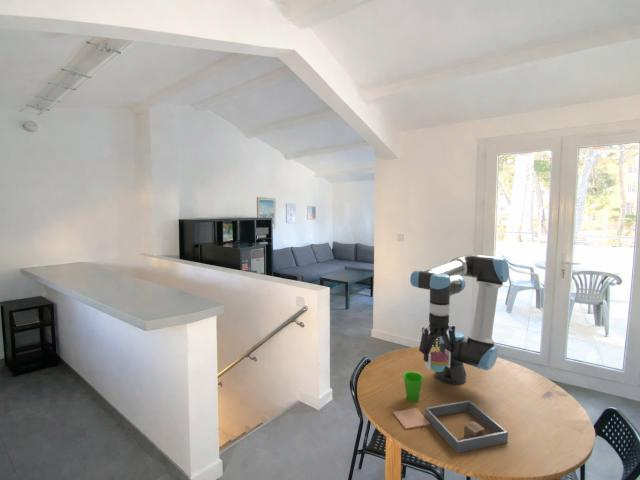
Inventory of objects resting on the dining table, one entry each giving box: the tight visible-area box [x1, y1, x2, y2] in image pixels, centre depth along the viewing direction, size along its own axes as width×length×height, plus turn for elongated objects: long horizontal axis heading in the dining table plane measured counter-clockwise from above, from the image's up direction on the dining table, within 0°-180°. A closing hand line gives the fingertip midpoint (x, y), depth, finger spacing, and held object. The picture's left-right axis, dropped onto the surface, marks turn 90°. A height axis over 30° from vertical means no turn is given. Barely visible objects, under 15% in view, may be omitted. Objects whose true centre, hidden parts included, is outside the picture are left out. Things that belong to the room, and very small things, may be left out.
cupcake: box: [429, 338, 449, 373], centre depth 137 cm, size 9×8×12 cm
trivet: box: [392, 407, 431, 430], centre depth 142 cm, size 11×11×1 cm
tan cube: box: [463, 420, 486, 439], centre depth 130 cm, size 5×5×5 cm
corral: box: [424, 400, 509, 454], centre depth 135 cm, size 22×22×4 cm
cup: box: [402, 371, 424, 403], centre depth 156 cm, size 9×9×11 cm
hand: (437, 367), depth 138 cm, fingers closed on cupcake, 8 cm apart
